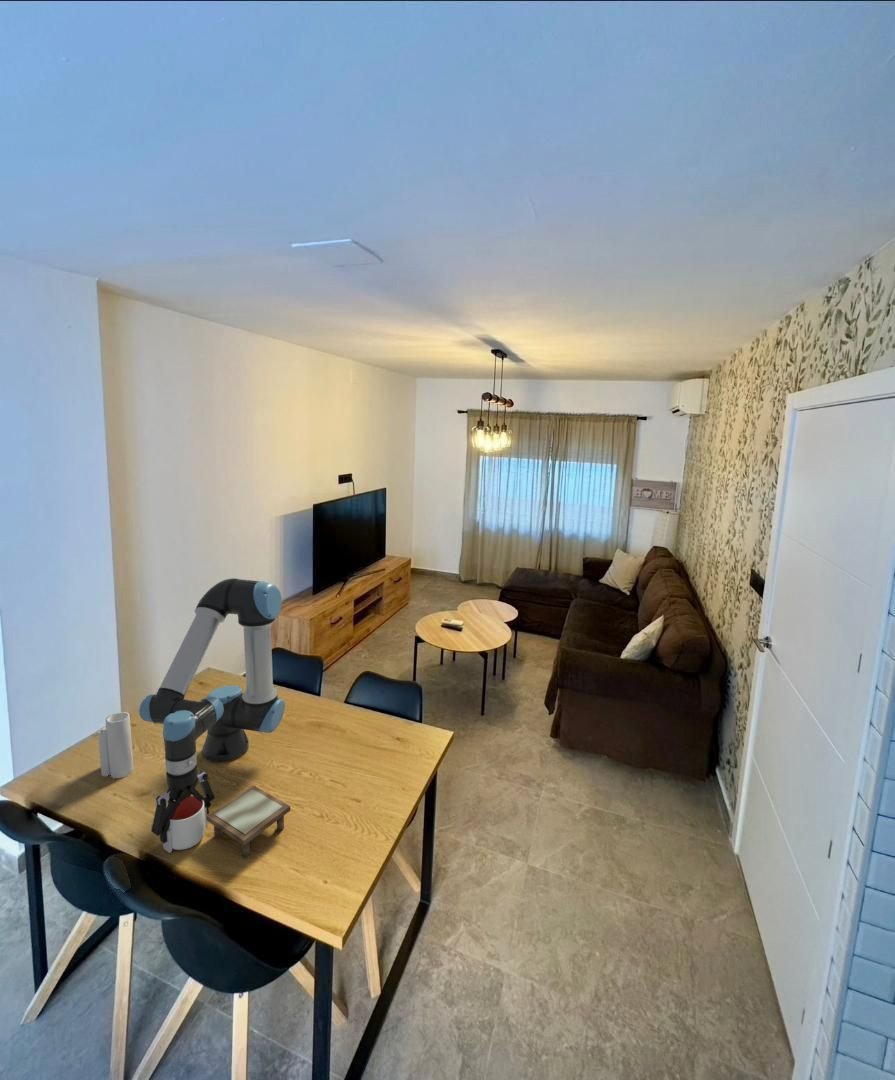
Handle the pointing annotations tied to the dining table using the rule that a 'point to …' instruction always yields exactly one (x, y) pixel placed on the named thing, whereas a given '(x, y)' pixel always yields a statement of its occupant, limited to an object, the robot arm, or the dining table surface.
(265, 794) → the footstool
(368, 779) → the dining table surface
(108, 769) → the vase
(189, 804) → the cup
